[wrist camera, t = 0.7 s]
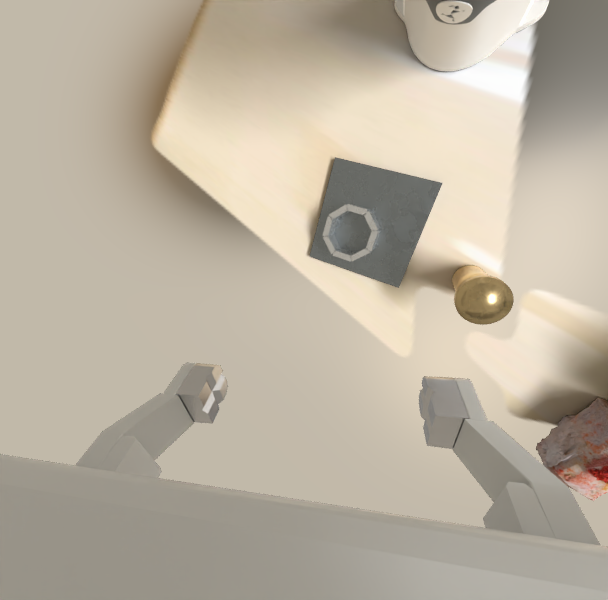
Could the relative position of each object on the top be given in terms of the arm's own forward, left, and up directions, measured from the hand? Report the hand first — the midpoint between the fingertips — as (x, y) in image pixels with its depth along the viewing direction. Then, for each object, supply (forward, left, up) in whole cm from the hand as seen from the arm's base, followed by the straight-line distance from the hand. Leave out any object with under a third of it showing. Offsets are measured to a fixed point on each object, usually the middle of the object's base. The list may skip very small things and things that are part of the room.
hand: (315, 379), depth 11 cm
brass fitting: (+2, +13, -43) cm, 45 cm away
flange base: (-2, -6, -43) cm, 43 cm away
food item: (+20, +39, -43) cm, 61 cm away
